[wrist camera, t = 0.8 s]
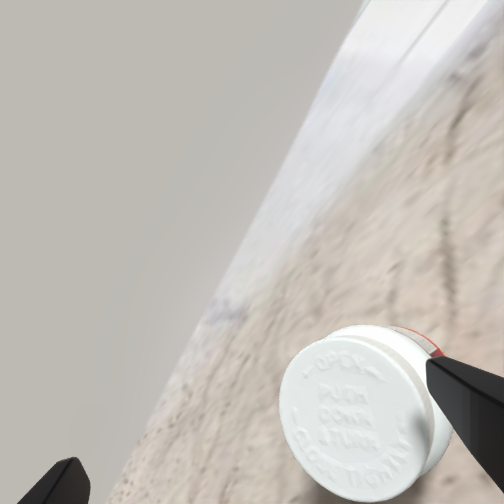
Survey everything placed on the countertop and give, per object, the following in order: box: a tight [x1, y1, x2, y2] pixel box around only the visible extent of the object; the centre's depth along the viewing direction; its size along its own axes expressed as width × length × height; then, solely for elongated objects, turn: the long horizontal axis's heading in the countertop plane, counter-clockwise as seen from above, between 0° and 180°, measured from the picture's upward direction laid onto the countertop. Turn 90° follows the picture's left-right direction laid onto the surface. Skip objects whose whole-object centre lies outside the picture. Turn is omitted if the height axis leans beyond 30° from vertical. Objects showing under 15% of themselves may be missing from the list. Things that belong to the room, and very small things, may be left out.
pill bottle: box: [279, 325, 453, 503], centre depth 15 cm, size 6×6×11 cm
